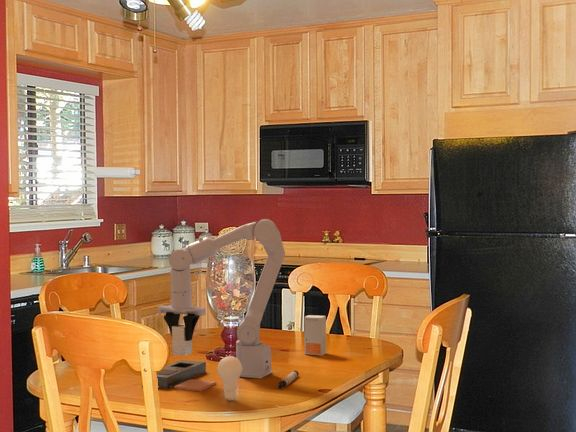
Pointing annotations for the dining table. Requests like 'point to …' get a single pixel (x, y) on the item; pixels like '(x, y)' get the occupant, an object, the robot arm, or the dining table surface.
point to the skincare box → (315, 335)
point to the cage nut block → (180, 341)
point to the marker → (288, 379)
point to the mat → (195, 385)
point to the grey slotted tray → (179, 372)
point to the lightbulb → (229, 375)
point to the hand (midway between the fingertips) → (182, 339)
